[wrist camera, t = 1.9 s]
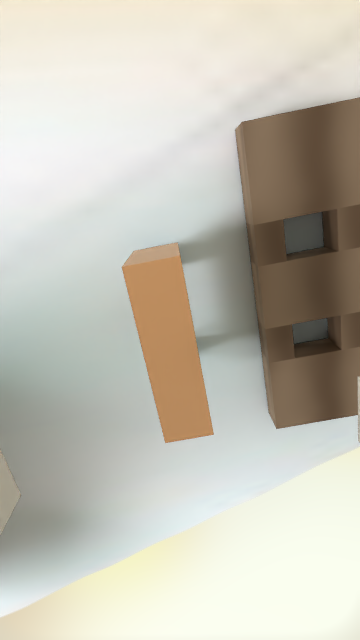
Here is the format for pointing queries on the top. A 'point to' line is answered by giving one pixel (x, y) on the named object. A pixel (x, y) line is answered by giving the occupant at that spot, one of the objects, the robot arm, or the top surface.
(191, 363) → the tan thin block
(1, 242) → the top surface
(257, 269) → the rail
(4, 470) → the robot arm
